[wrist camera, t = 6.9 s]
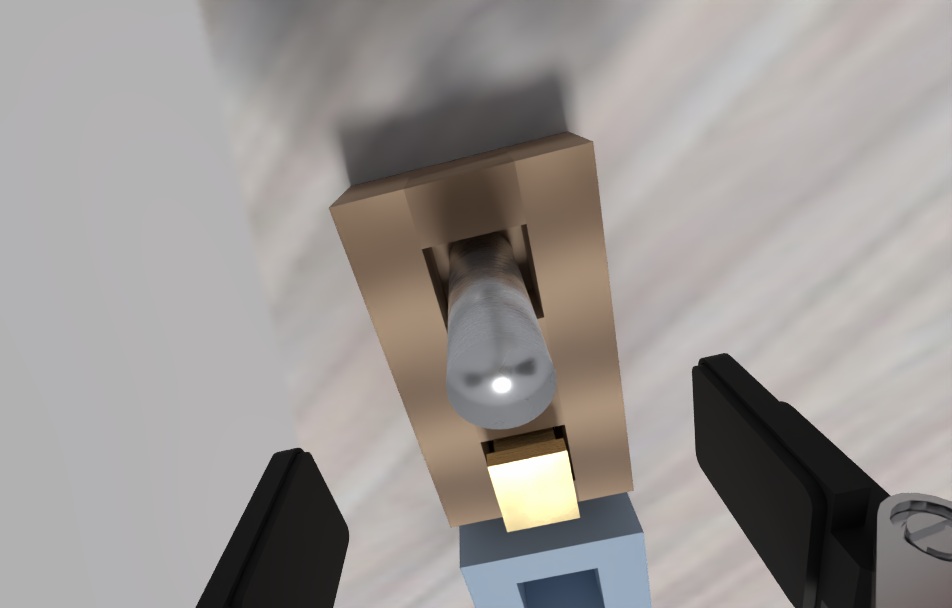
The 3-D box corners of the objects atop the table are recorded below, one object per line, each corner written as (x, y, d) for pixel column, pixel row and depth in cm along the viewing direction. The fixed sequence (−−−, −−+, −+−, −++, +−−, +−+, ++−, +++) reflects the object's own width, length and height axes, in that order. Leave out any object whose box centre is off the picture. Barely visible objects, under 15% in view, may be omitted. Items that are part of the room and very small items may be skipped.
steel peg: (442, 237, 21) (433, 352, 12) (506, 221, 21) (546, 326, 12) (458, 294, 22) (461, 439, 13) (518, 280, 22) (564, 417, 13)
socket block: (350, 186, 21) (328, 207, 17) (567, 131, 20) (593, 141, 16) (451, 471, 28) (450, 527, 25) (610, 438, 28) (633, 490, 24)
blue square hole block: (459, 493, 29) (459, 568, 25) (613, 461, 29) (643, 532, 24) (489, 580, 33) (494, 657, 29) (626, 553, 33) (654, 629, 28)
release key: (481, 400, 25) (487, 467, 20) (547, 386, 24) (567, 450, 20) (498, 459, 27) (507, 532, 22) (559, 446, 26) (580, 517, 22)
